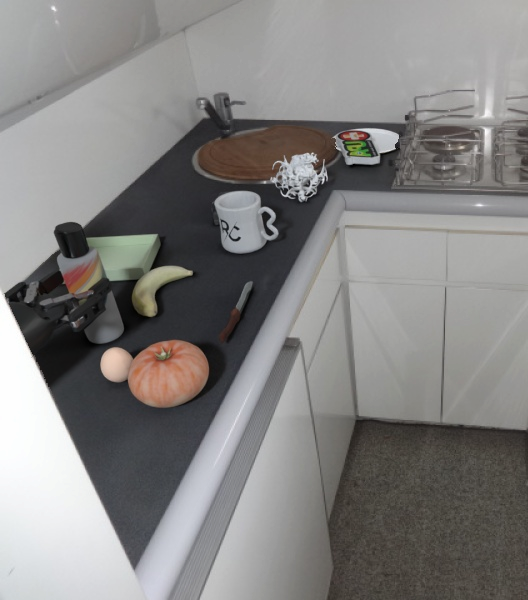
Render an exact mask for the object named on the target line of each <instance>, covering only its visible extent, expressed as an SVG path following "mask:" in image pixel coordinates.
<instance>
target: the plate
mask: <svg viewBox="0 0 528 600" xmlns="http://www.w3.org/2000/svg"><path fill="white" fill-rule="evenodd" d="M352 130H361V131H366V132H368V133H370V134H371V135H372V140H373V141H374V143H375V145H376V147H377V149H378V152H379V154H380V155H382V154H388V153H390V152H393V151H396V150H397V149H396V148H395V144H396V143H397V142H398V139H399V135H400V134H398V133H397V132H394V131H392V130H387V129H383V128H375V127H374V128H371V127H369V128H368V127H364V128H355V129H352ZM336 135H337V134H335V135H333V137H332V138H335V139H336ZM335 144H336V146H337V147H336V146H335V147H336V149H337V150H336V149H335V150H336V151H338V152H341V153H342V151H341V146H339V145H337V143H336V142H335Z"/></svg>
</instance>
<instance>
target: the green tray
mask: <svg viewBox="0 0 528 600" xmlns="http://www.w3.org/2000/svg"><path fill="white" fill-rule="evenodd" d="M86 240H87V242H88V245H89V246H91V247H94V248H96V249H97V251H98V253H99V256H100V258H101V261H102V264H103V267H104V270H105V273H106V276H107V278H108V279H109V281H110V282H118V281H133V280H139V279H140V278H141V277H142V276H143V275H145V274H146V273H147V272H149V271H151V268H152V266H153V264H154V262H155V259H156V257H157V254H158V252H159V249H160V247H161V245H162V244H161V243H162V242H161V241H160V240H161V239H160V236H159V233H150V234H132V235H130V234H129V235H116V236H115V235H114V236H98V237H97V236H96V237H95V236H94V237H86ZM58 270H59V271H60V268H59V269H58ZM61 285H66V283H65V281H64V282H63V283H62V284H61Z"/></svg>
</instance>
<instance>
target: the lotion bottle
mask: <svg viewBox="0 0 528 600" xmlns="http://www.w3.org/2000/svg"><path fill="white" fill-rule="evenodd" d="M53 235H54V238H55V240H56V243H57V246H58V248H59V250H60V253H59V254H58V255H57V257H56V262H57V265H58V268H59V269H60V271H61V273H62V276H63V278H64V281H65V283H66V284H65V286H66V289H67V291H68V294H69V293H74V294H79V293H82V292H85V291H88V289H89V288H90V287H92V286H93V285H94V284H95V283H97V282H98V281H99V280H100V279H102V278H107V276H106V273H105V270H104V267H103V264H102V261H101V258H100V256H99V253H98V251H97V249H96V248H94V247H91V246H89V245H88V242H87V240H86V238H87V236H86V234H85V231H84V228H83V226H82V225H81V223H78V222H75V221H66V222H62V223H59V224H57V225H56V226H54V230H53ZM114 296H115V295H114V293H113V291H112V290H111V292H110V293H108V294H107V295H106V296H105V297H104V298H103V302H104V304H105V307H106V310H105V311H104V312H103V313H102V314H101V315H99V316H98V317H97V318H96V319H94V320H93V321H92V322H91V323H89V324H88V325H87V326H86V327H84V328H83V329H82V330H83V331H84V334H85V336H86V338H87V339H88V341H89V342H91V343H93V344H100V345H101V344H107V343H110V342H113V341H115V340H117V339H118V338H119V337H121V336H122V334H123V333H124V331H125V327H124V323H123V319H122V317H121V314H120V311H119V308H118V305H117V302H116V300H115V297H114ZM86 301H87V299H83V300H80V301H79V305H82V304H83V303H85V302H86ZM94 309H95V308H93V309H92V310H94Z"/></svg>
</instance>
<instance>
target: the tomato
mask: <svg viewBox="0 0 528 600" xmlns="http://www.w3.org/2000/svg"><path fill="white" fill-rule="evenodd" d="M209 366H210V365H209V362H208V359H207V357H206V354H204V352H203V350H202V349H201V348H199V347H198V346H197V345H195V344H193V343H191V342H188V341H186V340H182V339H181V340H180V339H170V340H163V341H158V342H156V343H153V344H150V345H148V347H146V348H144V349H142V350H141V351H140V352H139V353H138V354H137V355H136V356H135V357H134V358H133V362H132V363H131V365H130V368H129V372H128V379H127V382H128V387H129V389H130V392H131V394H132V395H133V396H134V397H135V398H136V399H137V400H138V401H140V402H141V403H143V404H145V405H147V406H149V407H154V408H160V409H167V408H174V407H178V406H181V405H183V404H186V403H187V402H190V401H191V400H193V399H194V398H195V397H196V396H198V395H199V394H200V393H201V392H202V390H203V389H204V387H205V386H206V384H207V381H208V379H209V374H210V367H209Z"/></svg>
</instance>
